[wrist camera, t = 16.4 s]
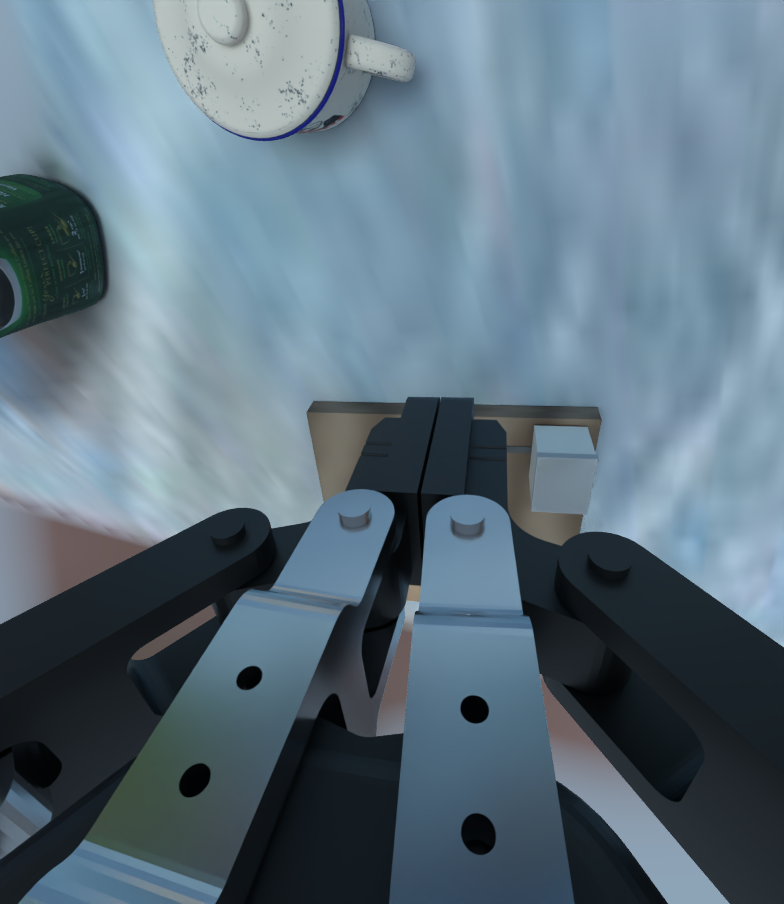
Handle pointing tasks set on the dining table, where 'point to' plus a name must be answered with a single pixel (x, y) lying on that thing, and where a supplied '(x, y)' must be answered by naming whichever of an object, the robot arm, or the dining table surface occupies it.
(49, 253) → the coffee jar
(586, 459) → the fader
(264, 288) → the dining table surface
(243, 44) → the teacup with lid
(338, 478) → the fader board
